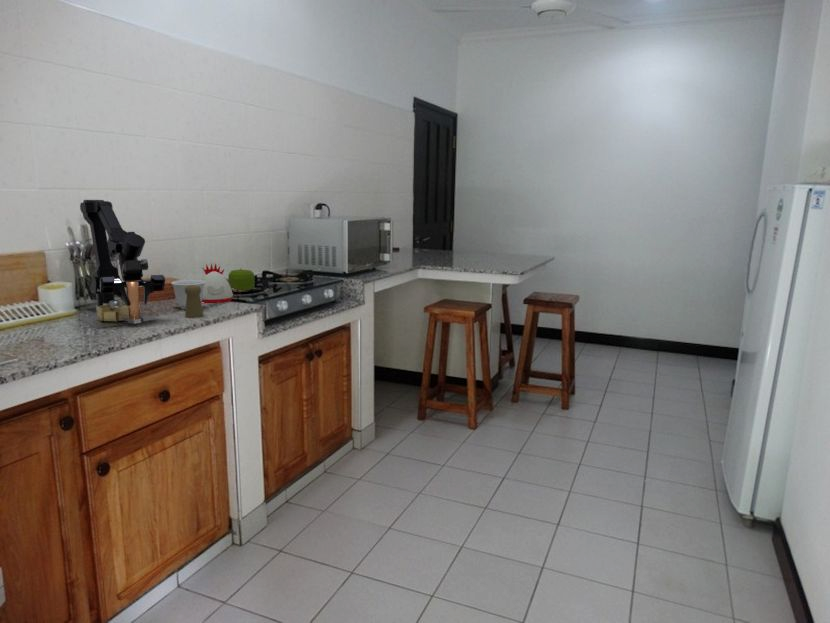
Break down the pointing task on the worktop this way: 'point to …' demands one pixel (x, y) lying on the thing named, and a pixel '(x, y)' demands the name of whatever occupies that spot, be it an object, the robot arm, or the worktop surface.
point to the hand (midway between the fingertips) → (137, 304)
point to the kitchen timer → (216, 286)
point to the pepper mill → (193, 301)
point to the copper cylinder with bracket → (123, 307)
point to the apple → (241, 279)
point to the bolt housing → (100, 324)
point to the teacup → (180, 290)
